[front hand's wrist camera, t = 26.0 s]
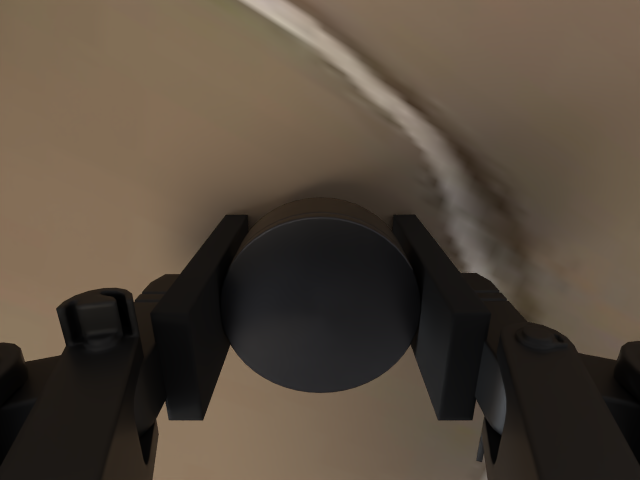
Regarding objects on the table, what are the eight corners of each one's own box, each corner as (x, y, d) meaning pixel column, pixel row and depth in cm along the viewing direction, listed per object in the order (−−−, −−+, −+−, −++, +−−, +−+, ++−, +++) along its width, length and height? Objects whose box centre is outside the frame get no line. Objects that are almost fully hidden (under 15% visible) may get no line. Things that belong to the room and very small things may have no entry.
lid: (240, 353, 13) (228, 394, 11) (226, 197, 11) (209, 216, 9) (400, 352, 13) (413, 393, 11) (413, 196, 11) (431, 215, 9)
